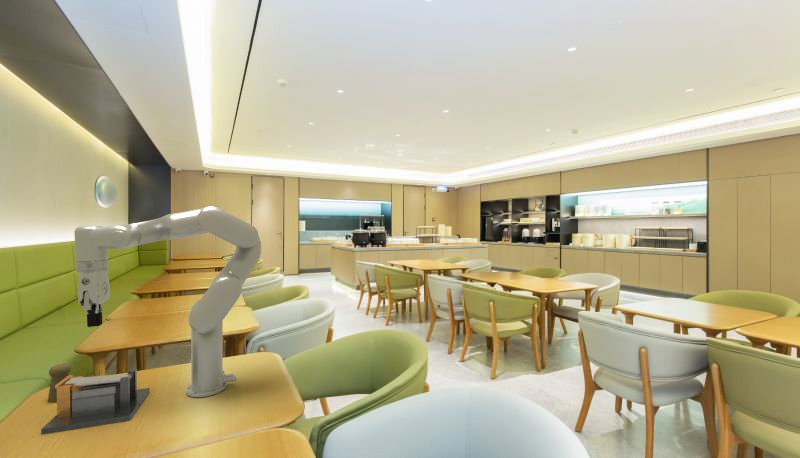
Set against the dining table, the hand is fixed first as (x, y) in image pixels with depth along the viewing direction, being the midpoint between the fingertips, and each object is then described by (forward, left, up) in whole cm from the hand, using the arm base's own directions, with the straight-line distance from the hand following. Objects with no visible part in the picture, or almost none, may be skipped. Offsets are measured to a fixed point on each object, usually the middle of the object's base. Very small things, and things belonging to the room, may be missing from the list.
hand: (95, 325), depth 108 cm
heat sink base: (-2, +2, -26) cm, 26 cm away
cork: (+14, -12, -26) cm, 32 cm away
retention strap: (-2, +2, -17) cm, 17 cm away
